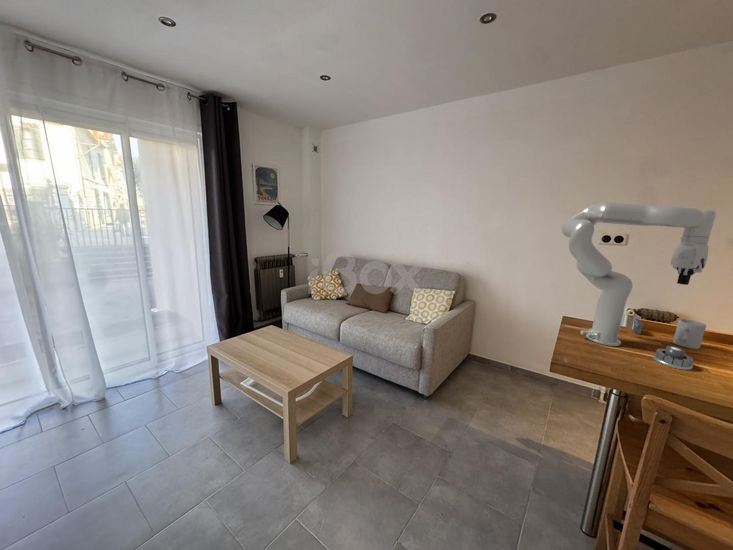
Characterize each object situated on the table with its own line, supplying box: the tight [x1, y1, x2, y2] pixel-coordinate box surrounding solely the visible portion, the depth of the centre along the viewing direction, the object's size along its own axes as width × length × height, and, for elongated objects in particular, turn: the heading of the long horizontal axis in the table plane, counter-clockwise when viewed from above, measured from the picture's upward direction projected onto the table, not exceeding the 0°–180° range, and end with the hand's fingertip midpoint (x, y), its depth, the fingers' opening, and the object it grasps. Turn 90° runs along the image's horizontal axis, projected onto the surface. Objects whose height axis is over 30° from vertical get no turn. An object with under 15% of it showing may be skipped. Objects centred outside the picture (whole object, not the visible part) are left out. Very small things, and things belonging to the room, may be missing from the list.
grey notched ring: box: [652, 348, 694, 371], centre depth 116 cm, size 11×11×4 cm
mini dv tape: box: [630, 318, 644, 336], centre depth 148 cm, size 8×2×6 cm, turn 152°
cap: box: [665, 345, 686, 359], centre depth 116 cm, size 5×5×5 cm
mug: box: [672, 318, 707, 350], centre depth 133 cm, size 12×8×11 cm
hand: (682, 284), depth 125 cm, fingers closed
